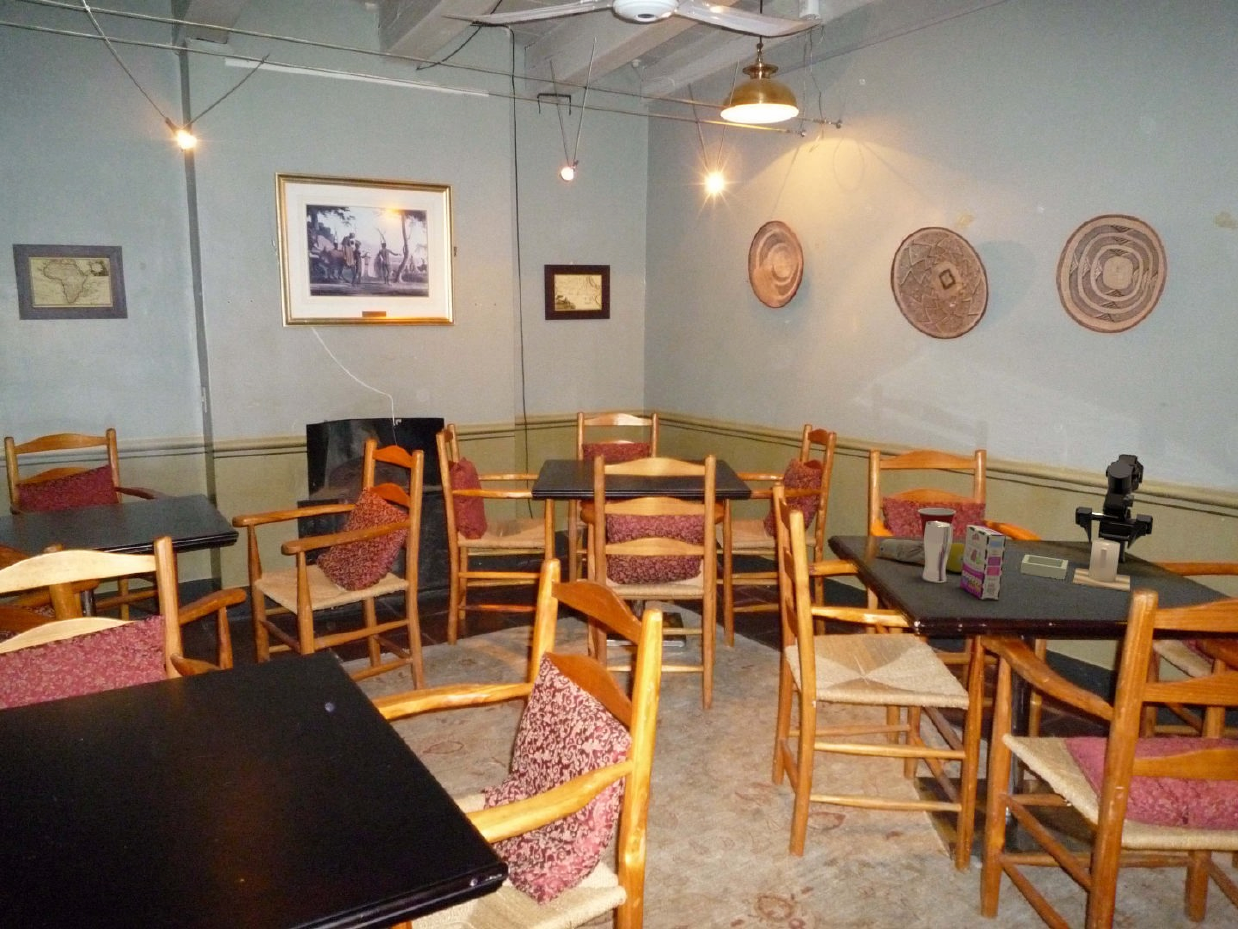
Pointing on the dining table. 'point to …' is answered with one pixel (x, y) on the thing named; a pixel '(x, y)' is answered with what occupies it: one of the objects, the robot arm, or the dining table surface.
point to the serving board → (1083, 579)
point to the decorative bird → (902, 549)
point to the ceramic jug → (1104, 560)
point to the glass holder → (1044, 566)
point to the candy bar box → (983, 562)
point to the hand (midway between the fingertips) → (1108, 545)
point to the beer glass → (937, 550)
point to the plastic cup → (935, 516)
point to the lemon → (956, 557)
